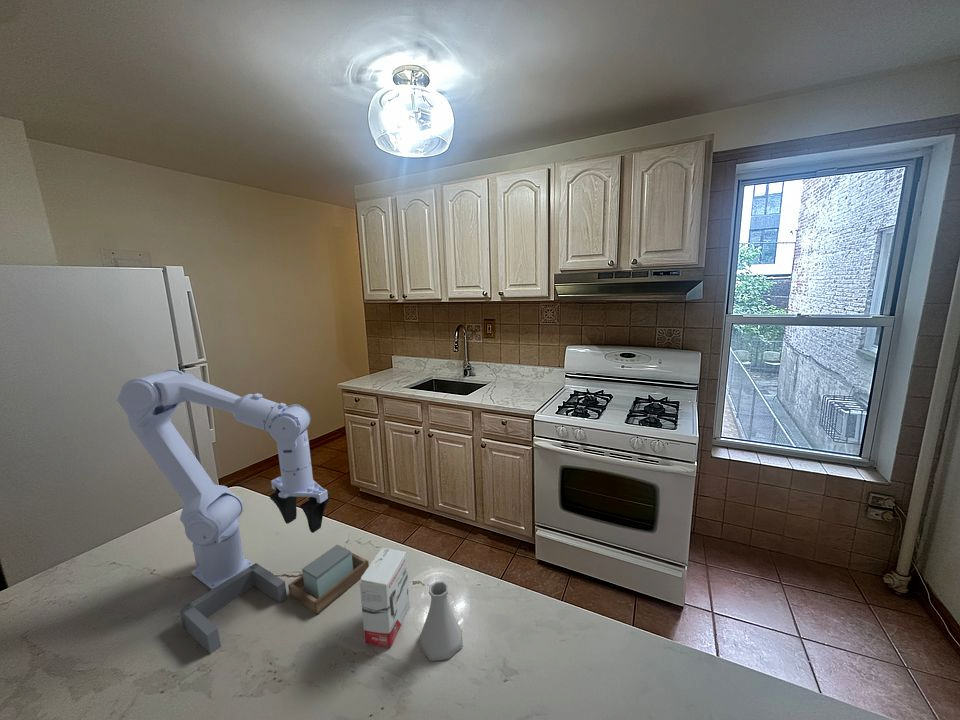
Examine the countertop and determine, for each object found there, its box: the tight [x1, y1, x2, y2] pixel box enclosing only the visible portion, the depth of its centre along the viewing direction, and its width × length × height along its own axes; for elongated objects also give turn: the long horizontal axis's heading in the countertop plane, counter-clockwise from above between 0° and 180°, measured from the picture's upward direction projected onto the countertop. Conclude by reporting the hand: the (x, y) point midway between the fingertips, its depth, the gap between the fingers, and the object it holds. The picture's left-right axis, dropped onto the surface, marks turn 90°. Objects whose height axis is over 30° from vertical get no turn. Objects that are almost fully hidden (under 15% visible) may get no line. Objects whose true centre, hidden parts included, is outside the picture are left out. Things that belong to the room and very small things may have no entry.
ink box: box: [359, 547, 411, 648], centre depth 63 cm, size 9×5×12 cm, turn 168°
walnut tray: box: [287, 552, 370, 616], centre depth 74 cm, size 9×12×2 cm
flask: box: [419, 580, 464, 662], centre depth 60 cm, size 7×7×10 cm
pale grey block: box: [301, 544, 353, 599], centre depth 73 cm, size 4×8×5 cm, turn 149°
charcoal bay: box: [179, 562, 288, 654], centre depth 67 cm, size 10×13×4 cm
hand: (303, 525), depth 78 cm, fingers open, 7 cm apart
